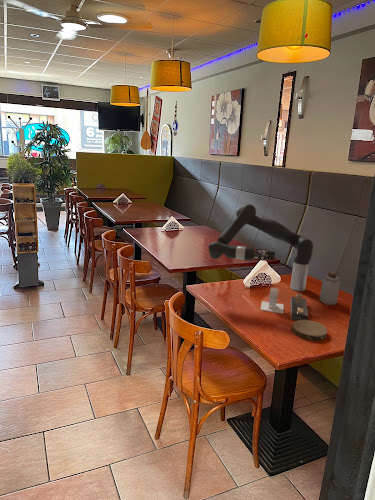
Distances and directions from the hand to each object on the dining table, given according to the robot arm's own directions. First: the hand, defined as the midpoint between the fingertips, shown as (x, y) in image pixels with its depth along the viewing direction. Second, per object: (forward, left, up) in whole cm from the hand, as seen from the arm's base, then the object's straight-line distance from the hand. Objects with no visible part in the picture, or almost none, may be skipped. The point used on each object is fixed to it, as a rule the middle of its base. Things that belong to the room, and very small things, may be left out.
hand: (274, 255), depth 200 cm
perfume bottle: (-8, +36, -29) cm, 47 cm away
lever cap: (+4, +1, -28) cm, 28 cm away
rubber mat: (+4, +1, -28) cm, 29 cm away
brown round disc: (+32, +12, -29) cm, 45 cm away
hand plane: (+8, +14, -28) cm, 33 cm away
